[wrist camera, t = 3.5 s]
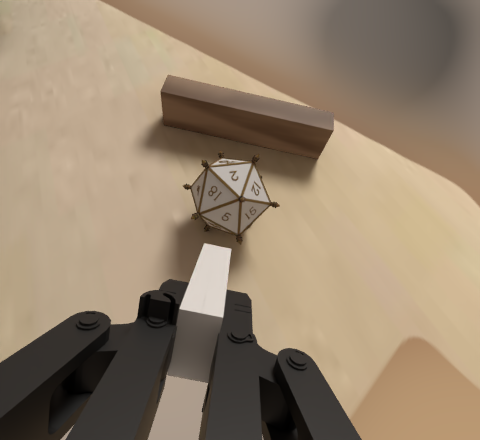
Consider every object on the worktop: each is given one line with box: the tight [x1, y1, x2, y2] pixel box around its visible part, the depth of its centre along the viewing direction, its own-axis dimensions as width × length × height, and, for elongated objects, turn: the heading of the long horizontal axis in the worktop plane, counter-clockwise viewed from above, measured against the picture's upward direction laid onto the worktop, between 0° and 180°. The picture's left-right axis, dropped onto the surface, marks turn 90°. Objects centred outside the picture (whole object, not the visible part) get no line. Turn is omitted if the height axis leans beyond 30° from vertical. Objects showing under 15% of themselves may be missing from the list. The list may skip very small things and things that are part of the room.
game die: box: [183, 151, 280, 244], centre depth 30 cm, size 9×8×10 cm
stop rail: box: [161, 75, 334, 159], centre depth 38 cm, size 3×20×5 cm, turn 81°
